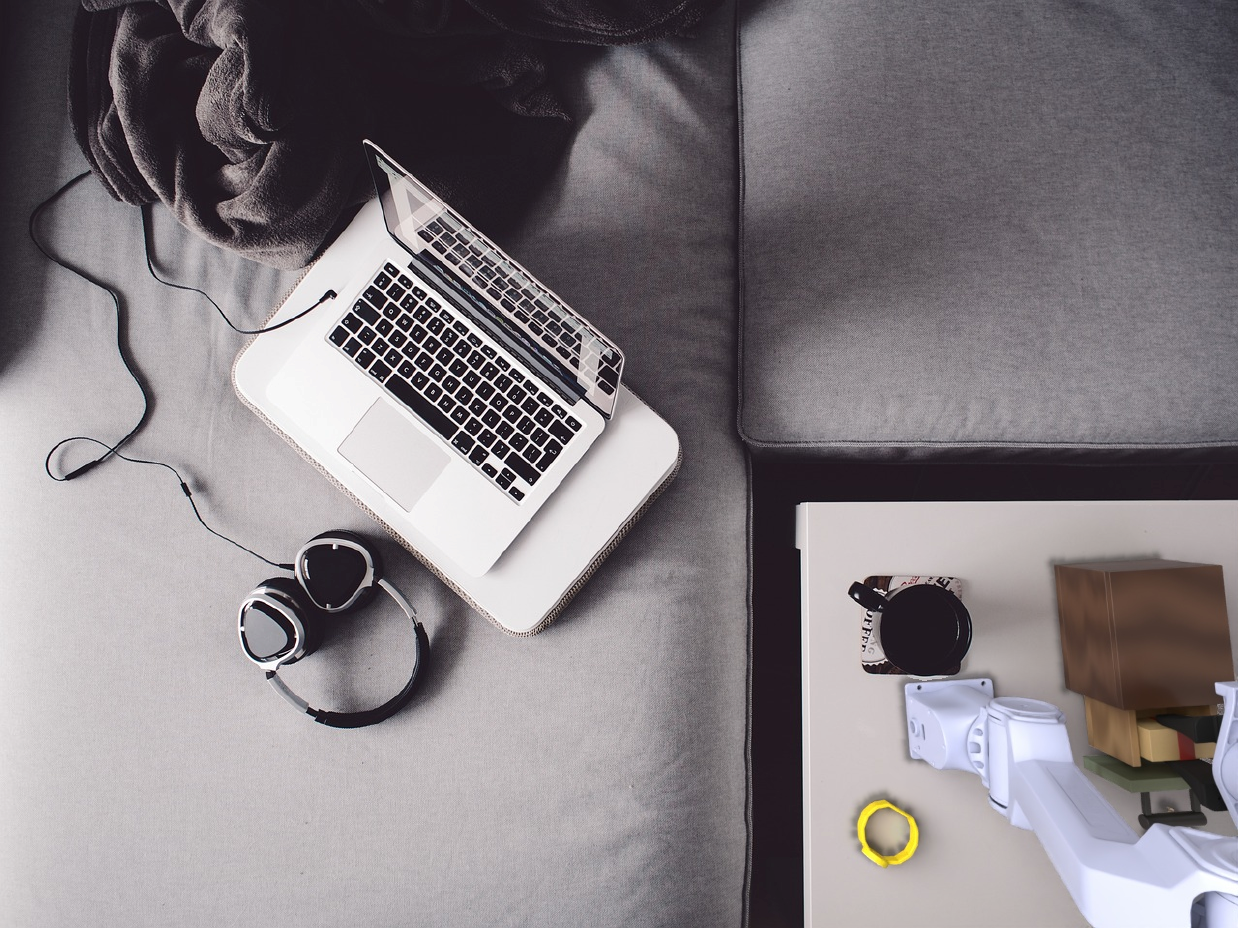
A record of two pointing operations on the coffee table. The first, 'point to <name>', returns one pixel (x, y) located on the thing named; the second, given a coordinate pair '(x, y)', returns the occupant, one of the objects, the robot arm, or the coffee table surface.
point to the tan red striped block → (1168, 743)
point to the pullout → (1138, 759)
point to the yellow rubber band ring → (874, 855)
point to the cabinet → (1144, 632)
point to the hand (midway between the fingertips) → (1167, 736)
